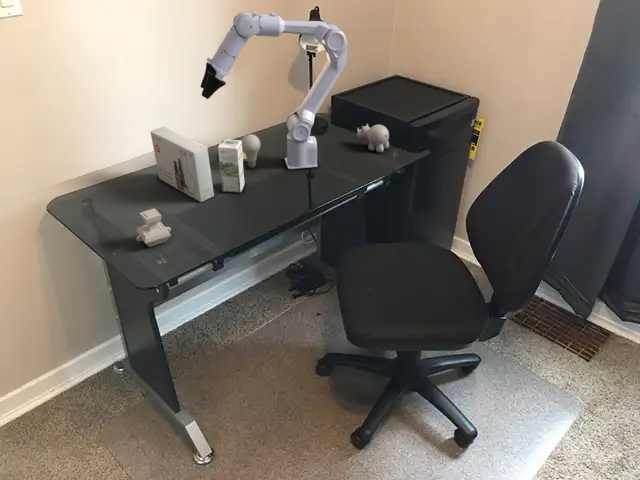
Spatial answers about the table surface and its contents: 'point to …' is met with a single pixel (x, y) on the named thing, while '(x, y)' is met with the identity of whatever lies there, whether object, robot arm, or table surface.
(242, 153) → the sticky note pad
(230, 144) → the syrup box
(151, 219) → the stamp
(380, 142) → the toy rhinoceros
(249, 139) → the lightbulb
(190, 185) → the skincare box
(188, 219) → the table surface
